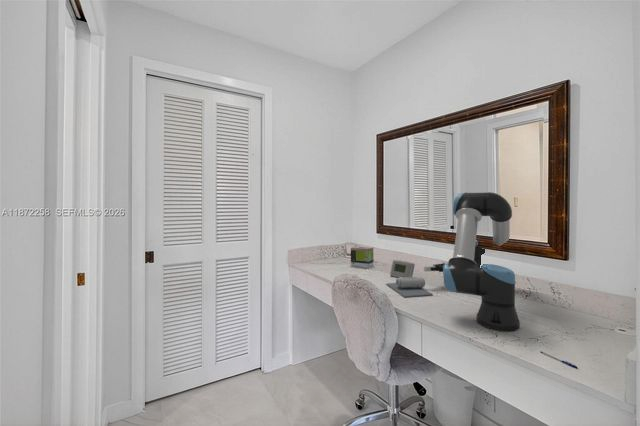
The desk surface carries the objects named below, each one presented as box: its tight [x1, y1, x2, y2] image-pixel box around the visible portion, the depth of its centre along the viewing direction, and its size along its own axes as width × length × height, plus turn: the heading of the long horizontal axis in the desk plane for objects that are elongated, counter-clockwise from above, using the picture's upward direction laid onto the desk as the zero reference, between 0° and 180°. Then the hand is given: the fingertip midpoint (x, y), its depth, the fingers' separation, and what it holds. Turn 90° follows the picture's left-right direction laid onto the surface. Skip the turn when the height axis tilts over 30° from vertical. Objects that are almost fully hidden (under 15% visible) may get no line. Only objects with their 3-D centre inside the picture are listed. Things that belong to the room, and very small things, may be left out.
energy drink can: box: [395, 276, 426, 289], centre depth 170 cm, size 6×6×15 cm
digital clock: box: [389, 259, 416, 279], centre depth 195 cm, size 16×9×11 cm, turn 30°
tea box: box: [350, 245, 375, 269], centre depth 229 cm, size 15×10×15 cm, turn 58°
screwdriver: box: [539, 351, 578, 370], centre depth 94 cm, size 10×1×1 cm, turn 23°
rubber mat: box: [385, 282, 434, 299], centre depth 169 cm, size 24×16×1 cm, turn 10°
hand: (424, 268), depth 170 cm, fingers closed
